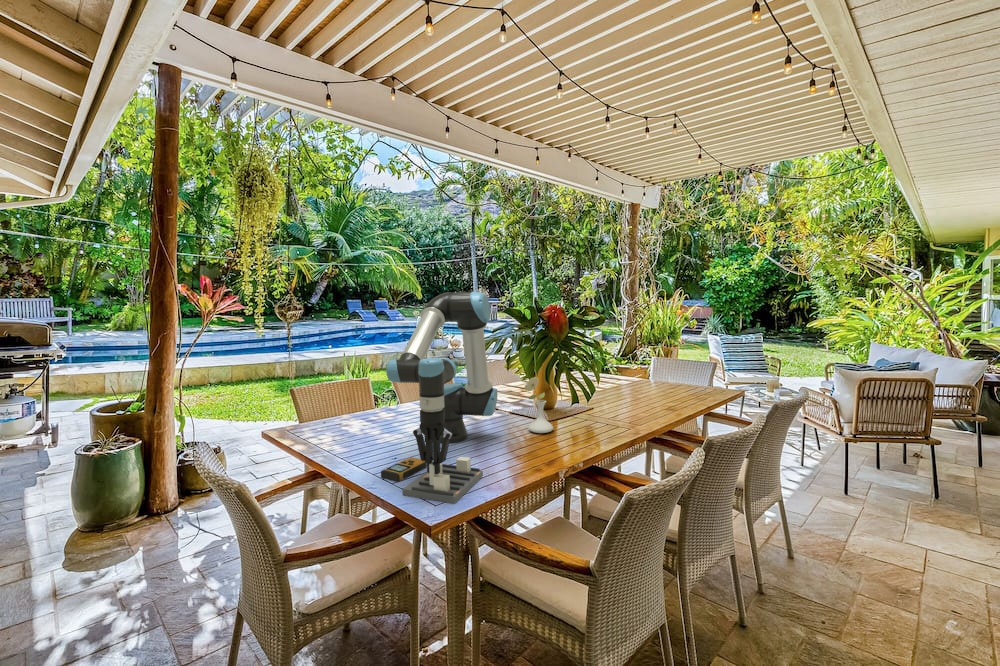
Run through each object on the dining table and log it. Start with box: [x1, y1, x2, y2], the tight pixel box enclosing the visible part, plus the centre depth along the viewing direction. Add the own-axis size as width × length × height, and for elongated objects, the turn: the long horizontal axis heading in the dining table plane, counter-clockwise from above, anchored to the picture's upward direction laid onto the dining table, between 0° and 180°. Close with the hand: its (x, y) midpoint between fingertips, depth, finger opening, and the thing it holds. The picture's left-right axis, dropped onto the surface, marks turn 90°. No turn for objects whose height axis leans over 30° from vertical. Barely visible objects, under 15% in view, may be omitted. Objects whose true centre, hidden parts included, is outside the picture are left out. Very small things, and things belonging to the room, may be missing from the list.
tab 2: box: [434, 474, 450, 492], centre depth 148 cm, size 3×4×4 cm
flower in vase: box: [524, 376, 554, 434], centre depth 214 cm, size 13×11×25 cm
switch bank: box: [402, 463, 484, 505], centre depth 157 cm, size 22×18×3 cm
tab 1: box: [427, 463, 443, 478], centre depth 158 cm, size 3×4×4 cm
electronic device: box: [380, 457, 427, 483], centre depth 169 cm, size 8×16×3 cm, turn 150°
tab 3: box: [455, 456, 472, 473], centre depth 163 cm, size 3×4×4 cm
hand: (433, 483), depth 149 cm, fingers closed
